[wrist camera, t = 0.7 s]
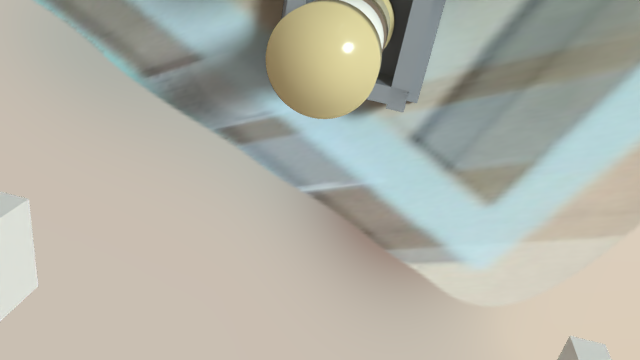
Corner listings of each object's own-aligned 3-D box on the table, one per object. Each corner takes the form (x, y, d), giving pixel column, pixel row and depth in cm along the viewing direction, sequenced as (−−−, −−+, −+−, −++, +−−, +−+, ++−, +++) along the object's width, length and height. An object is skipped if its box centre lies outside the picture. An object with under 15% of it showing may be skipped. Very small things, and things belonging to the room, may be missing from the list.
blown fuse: (330, -27, 29) (274, -9, 18) (403, -11, 29) (391, 17, 18) (316, 47, 31) (258, 104, 20) (385, 63, 30) (364, 130, 20)
